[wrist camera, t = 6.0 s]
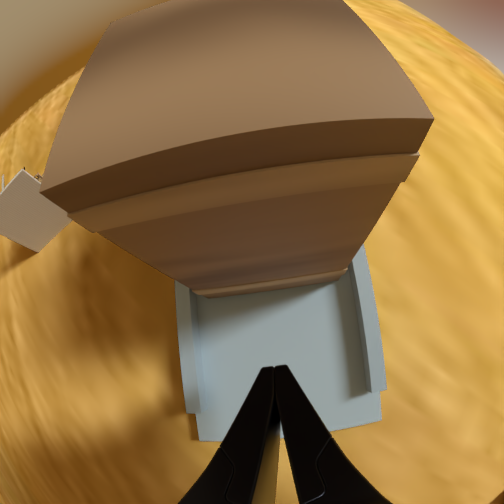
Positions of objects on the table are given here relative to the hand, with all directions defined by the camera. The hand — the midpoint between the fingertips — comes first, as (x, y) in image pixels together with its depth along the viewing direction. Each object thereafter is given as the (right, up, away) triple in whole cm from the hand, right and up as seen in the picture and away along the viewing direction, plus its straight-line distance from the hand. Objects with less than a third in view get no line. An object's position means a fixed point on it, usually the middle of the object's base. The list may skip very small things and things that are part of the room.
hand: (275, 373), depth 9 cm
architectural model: (-17, +6, +12) cm, 22 cm away
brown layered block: (0, +5, +7) cm, 9 cm away
